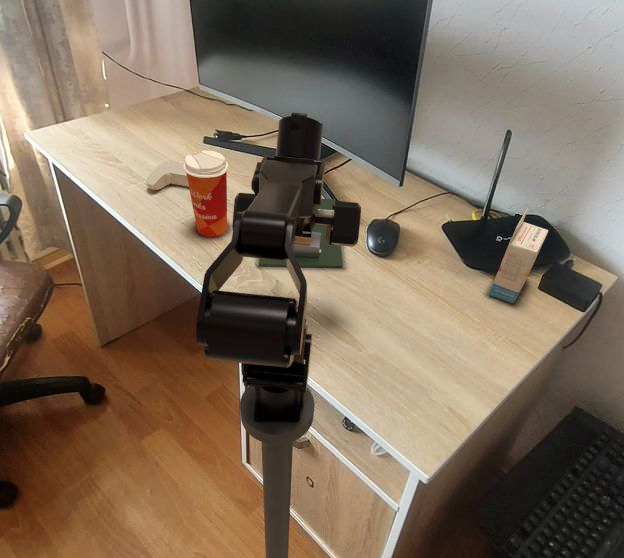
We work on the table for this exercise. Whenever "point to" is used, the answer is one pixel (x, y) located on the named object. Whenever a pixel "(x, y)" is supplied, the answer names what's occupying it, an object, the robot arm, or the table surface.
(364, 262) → the table surface
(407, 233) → the table surface
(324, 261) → the chalkboard
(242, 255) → the robot arm
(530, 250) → the ink box
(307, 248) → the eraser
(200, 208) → the coffee cup
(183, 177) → the game controller
